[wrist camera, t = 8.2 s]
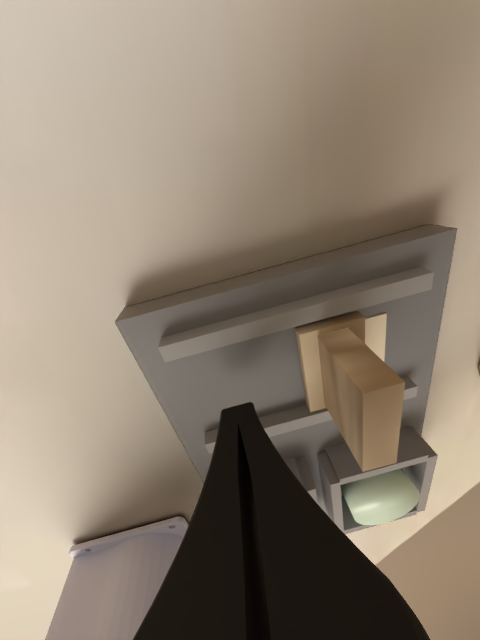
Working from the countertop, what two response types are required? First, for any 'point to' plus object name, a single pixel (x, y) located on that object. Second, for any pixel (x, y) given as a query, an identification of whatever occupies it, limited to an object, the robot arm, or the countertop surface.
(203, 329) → the panel
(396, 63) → the countertop surface
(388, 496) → the mint button
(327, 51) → the countertop surface
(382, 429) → the tan wooden step block
